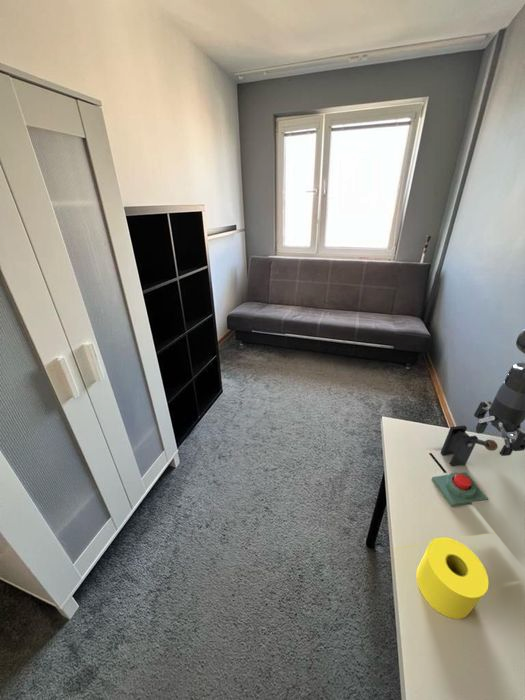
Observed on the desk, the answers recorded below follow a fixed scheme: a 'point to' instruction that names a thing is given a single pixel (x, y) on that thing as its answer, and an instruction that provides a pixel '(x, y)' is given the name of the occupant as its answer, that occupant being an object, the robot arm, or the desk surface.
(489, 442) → the lever
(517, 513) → the desk surface
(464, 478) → the button
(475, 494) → the switch block
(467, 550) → the tape roll
